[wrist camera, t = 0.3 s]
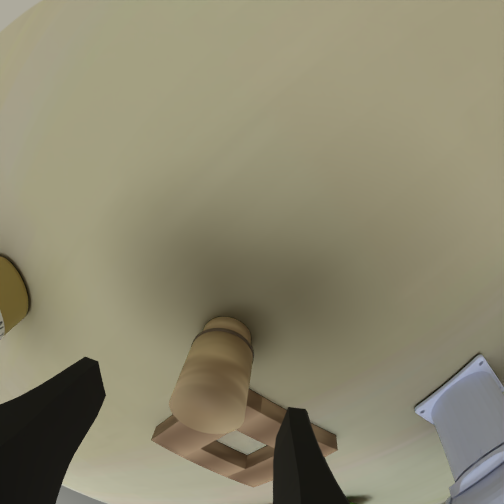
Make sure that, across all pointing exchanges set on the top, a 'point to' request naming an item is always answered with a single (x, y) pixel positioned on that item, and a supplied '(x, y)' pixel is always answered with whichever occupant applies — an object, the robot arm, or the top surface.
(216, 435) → the board
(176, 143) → the top surface
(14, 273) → the paper tube
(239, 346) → the peg
